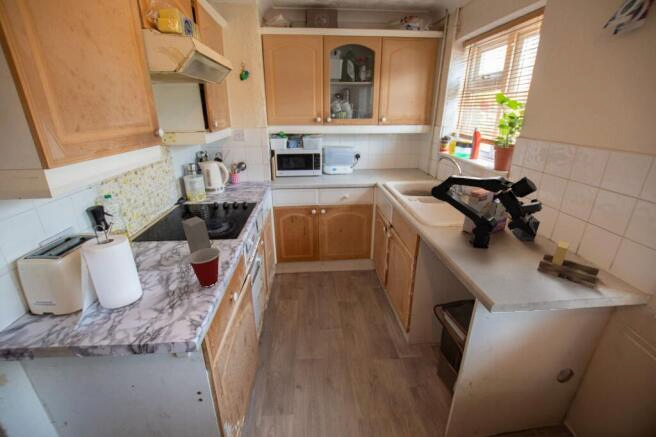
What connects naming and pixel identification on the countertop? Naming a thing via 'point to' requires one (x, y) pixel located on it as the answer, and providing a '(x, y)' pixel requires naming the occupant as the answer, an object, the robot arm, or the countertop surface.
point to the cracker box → (478, 206)
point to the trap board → (570, 271)
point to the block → (560, 253)
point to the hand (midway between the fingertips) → (535, 236)
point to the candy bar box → (498, 214)
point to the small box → (523, 235)
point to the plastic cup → (205, 265)
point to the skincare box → (196, 234)
